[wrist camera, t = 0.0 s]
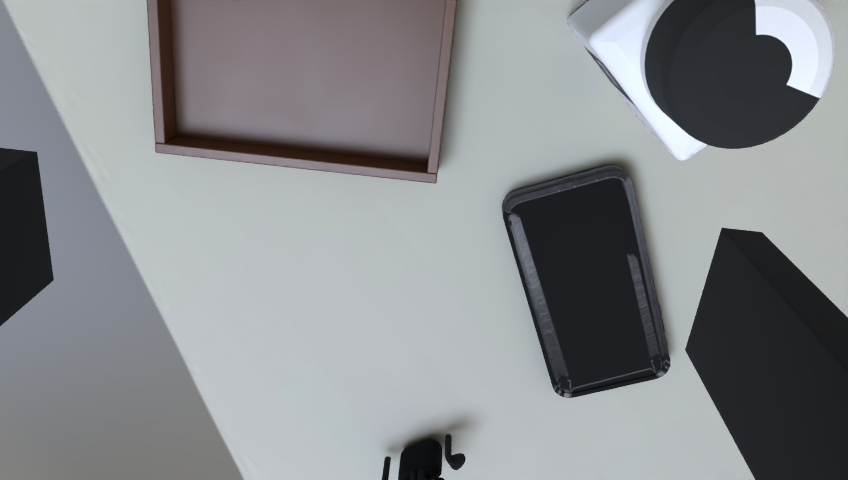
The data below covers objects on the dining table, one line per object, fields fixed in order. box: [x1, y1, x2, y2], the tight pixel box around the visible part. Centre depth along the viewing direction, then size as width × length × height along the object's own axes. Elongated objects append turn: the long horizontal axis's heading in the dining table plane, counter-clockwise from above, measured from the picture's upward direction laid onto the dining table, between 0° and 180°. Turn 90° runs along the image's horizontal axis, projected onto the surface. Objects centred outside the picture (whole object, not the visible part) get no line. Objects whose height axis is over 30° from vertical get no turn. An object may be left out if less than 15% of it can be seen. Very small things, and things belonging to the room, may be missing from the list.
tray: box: [147, 0, 457, 183], centre depth 39 cm, size 12×16×2 cm
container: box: [567, 0, 835, 160], centre depth 32 cm, size 8×8×13 cm
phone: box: [502, 165, 670, 398], centre depth 44 cm, size 8×1×15 cm
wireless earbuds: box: [382, 434, 465, 480], centre depth 49 cm, size 7×2×5 cm, turn 117°
